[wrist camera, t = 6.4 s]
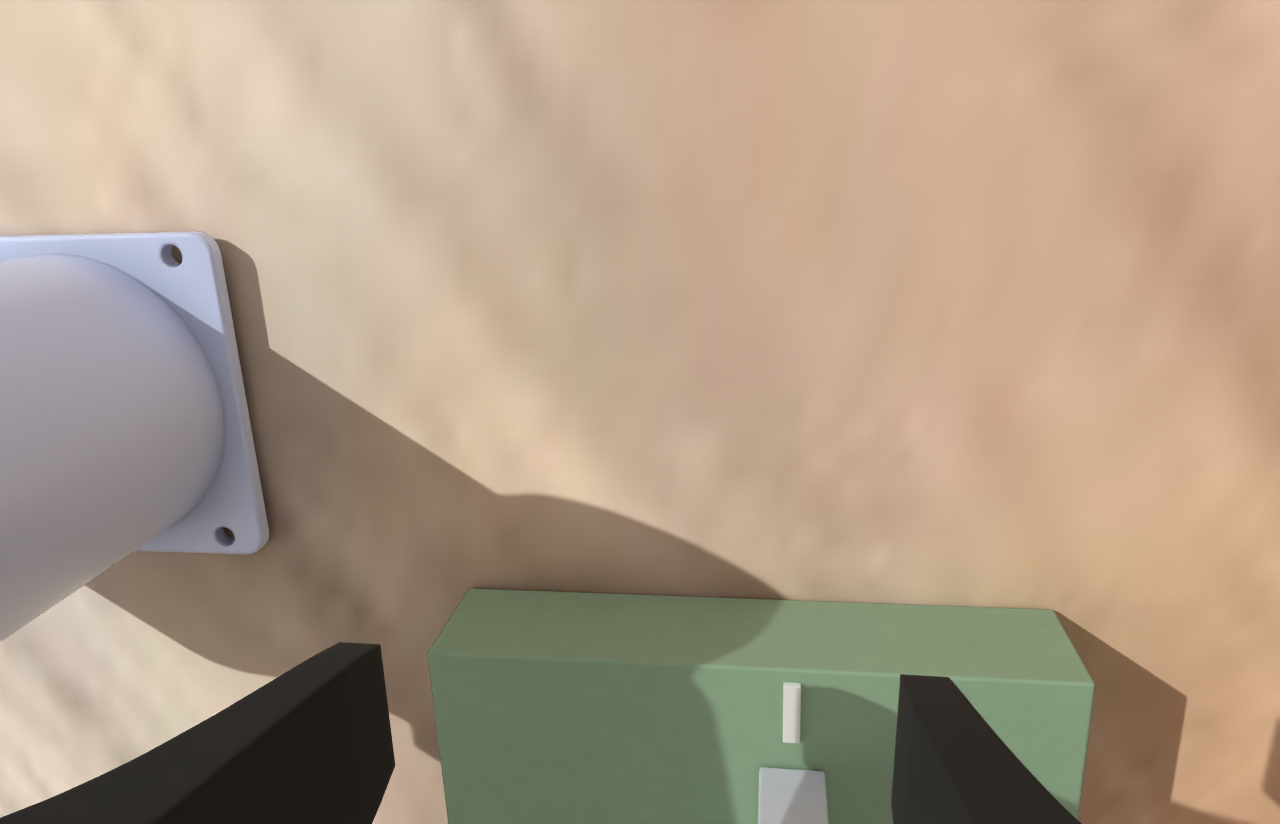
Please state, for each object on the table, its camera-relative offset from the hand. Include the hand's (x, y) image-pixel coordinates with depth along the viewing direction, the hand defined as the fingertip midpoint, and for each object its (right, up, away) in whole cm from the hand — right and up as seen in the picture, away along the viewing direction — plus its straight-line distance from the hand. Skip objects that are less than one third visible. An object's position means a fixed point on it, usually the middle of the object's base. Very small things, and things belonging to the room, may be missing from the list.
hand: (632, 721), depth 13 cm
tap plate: (+3, -5, +11) cm, 12 cm away
